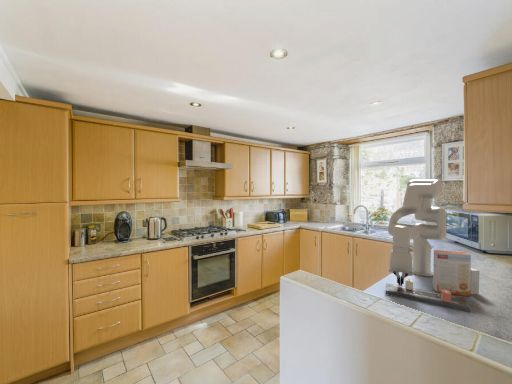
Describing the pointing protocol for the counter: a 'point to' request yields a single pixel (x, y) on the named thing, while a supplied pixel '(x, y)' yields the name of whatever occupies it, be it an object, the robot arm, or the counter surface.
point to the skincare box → (474, 281)
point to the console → (426, 297)
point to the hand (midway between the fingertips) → (400, 284)
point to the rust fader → (446, 295)
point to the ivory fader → (409, 284)
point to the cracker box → (452, 272)
